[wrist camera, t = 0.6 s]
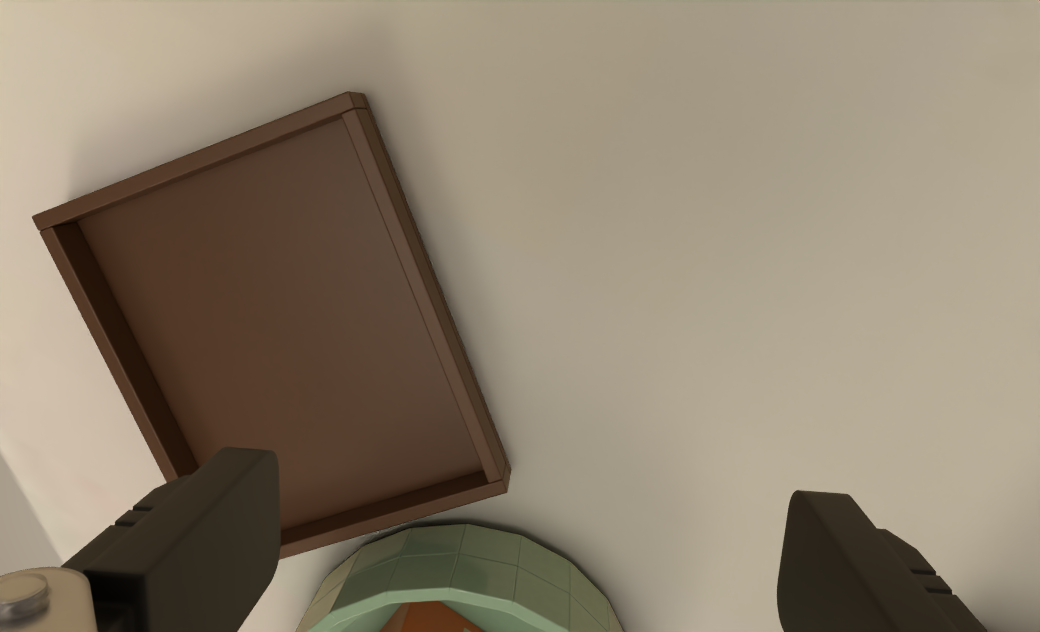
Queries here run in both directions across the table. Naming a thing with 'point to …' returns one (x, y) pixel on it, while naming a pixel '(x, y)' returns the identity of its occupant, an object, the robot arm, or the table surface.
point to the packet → (427, 619)
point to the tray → (285, 323)
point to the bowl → (460, 584)
